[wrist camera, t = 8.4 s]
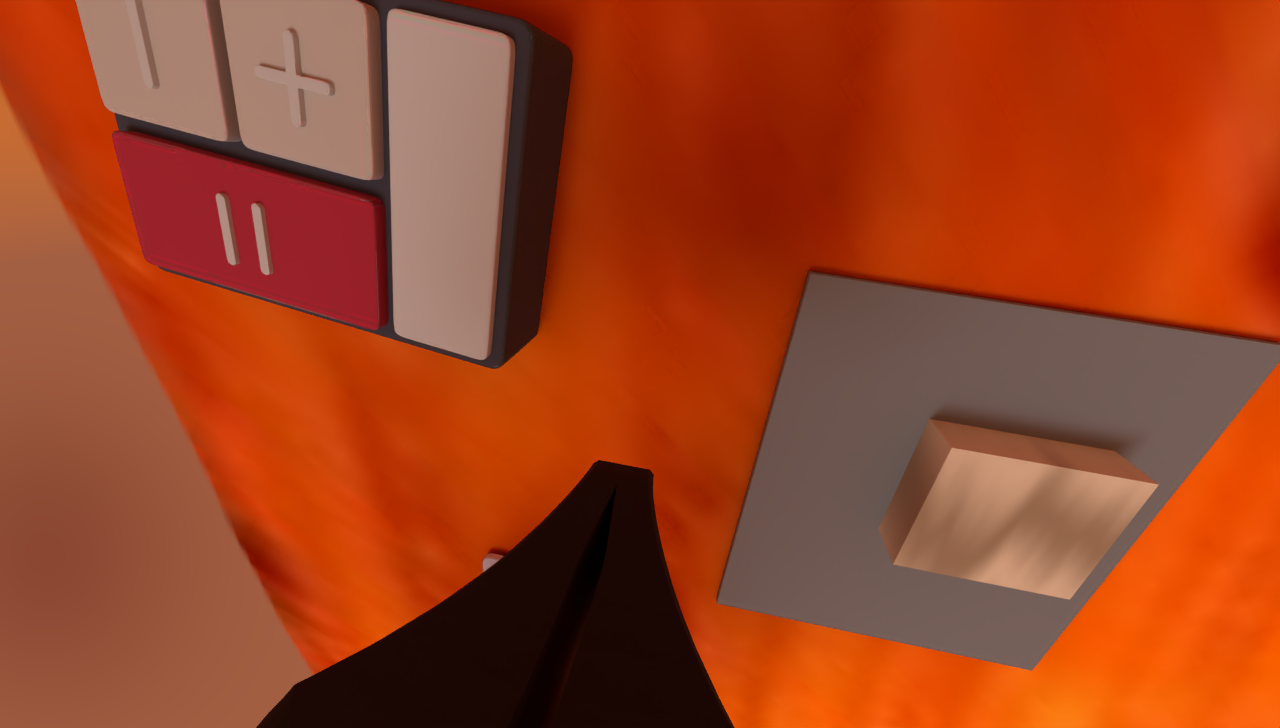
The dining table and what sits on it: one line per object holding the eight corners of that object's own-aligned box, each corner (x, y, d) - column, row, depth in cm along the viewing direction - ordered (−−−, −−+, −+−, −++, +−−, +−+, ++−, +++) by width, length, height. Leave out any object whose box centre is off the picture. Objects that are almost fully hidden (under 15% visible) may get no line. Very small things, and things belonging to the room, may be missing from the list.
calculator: (23, -101, 13) (522, 12, 12) (186, -44, 17) (577, 46, 16) (129, 273, 18) (491, 382, 17) (237, 252, 22) (538, 339, 21)
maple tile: (878, 529, 21) (1039, 560, 21) (893, 564, 20) (1069, 599, 19) (929, 418, 19) (1115, 451, 18) (952, 447, 17) (1158, 484, 16)
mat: (1027, 662, 24) (1031, 670, 24) (716, 596, 25) (716, 603, 25) (1278, 342, 16) (1291, 346, 16) (808, 271, 17) (810, 273, 17)
